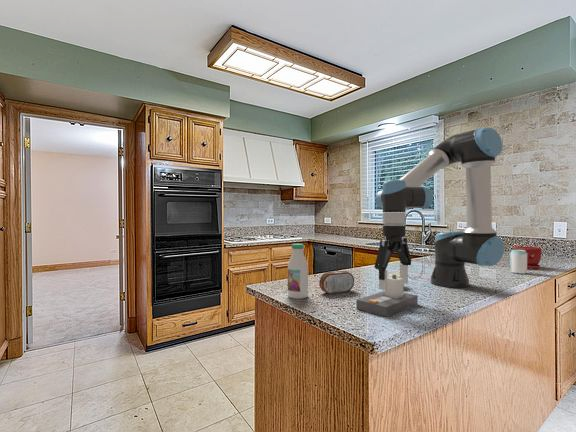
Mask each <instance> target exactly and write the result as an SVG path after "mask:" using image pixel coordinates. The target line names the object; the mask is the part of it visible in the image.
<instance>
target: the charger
mask: <svg viewBox="0 0 576 432" xmlns="http://www.w3.org/2000/svg"><path fill="white" fill-rule="evenodd" d="M384 291H385V296H387V297H391V298H396V299H399V298H402V297H403V293H404V287H403V278H398V277H396V275H392V277H391V276H387V290H384Z"/></svg>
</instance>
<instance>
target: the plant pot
mask: <svg viewBox="0 0 576 432" xmlns="http://www.w3.org/2000/svg"><path fill="white" fill-rule="evenodd" d="M512 250H525V251H526V253H527V270H537V269H540V267H541V265H540V264H539V263H540V262H541V260H542V259H541V258H542V247H540V246H539V247H538V246H512ZM512 250H511V251H512Z"/></svg>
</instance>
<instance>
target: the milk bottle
mask: <svg viewBox="0 0 576 432" xmlns="http://www.w3.org/2000/svg"><path fill="white" fill-rule="evenodd" d="M304 249H305V244H303V243H291V251H292V253H291V255H290V258H289V260H288V264H287V296H288V298H290V299H294V300H299V299H300V300H301V299H306V298H308V296H309V267H308V265H309V264H308V261H307V259H306V256H305V253H304Z"/></svg>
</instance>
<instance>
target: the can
mask: <svg viewBox="0 0 576 432" xmlns="http://www.w3.org/2000/svg"><path fill="white" fill-rule="evenodd" d="M527 254H528V253H526V251H525V250H511V251H510V254H509V255H510V256H509V264H510V266H509V269H510V270H509V272H511V273H512V272H513V273H512V274H515V273H519V274H518V275H526V274H527V273H528V269H527Z"/></svg>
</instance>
